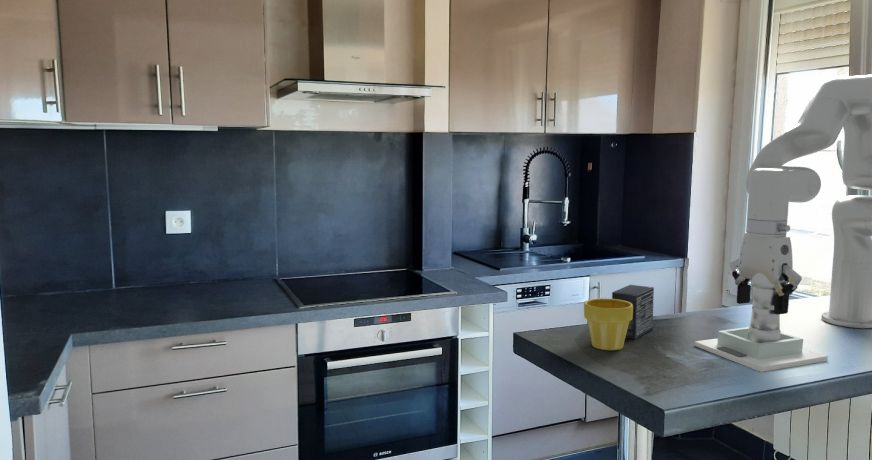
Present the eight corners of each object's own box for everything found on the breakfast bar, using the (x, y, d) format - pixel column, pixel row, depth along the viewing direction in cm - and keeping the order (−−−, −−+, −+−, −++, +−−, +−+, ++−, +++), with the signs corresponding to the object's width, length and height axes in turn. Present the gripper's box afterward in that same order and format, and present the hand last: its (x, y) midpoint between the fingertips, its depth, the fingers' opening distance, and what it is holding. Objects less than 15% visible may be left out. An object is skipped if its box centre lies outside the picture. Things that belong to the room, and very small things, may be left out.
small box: (627, 325, 162) (629, 283, 161) (653, 329, 158) (655, 287, 157) (609, 334, 154) (610, 290, 153) (636, 339, 150) (637, 295, 149)
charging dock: (756, 337, 152) (757, 320, 151) (827, 360, 135) (828, 341, 135) (694, 345, 145) (695, 328, 145) (761, 371, 129) (762, 352, 128)
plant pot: (587, 337, 152) (588, 295, 151) (633, 342, 148) (635, 299, 147) (579, 350, 143) (580, 306, 141) (628, 355, 139) (630, 310, 137)
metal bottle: (781, 347, 141) (787, 255, 138) (779, 356, 135) (786, 260, 132) (748, 343, 144) (753, 253, 141) (745, 351, 138) (750, 257, 135)
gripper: (816, 232, 130) (810, 316, 132) (747, 222, 146) (742, 297, 148) (788, 234, 127) (782, 320, 130) (720, 224, 143) (716, 300, 146)
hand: (761, 308), depth 139 cm, fingers open, 9 cm apart
